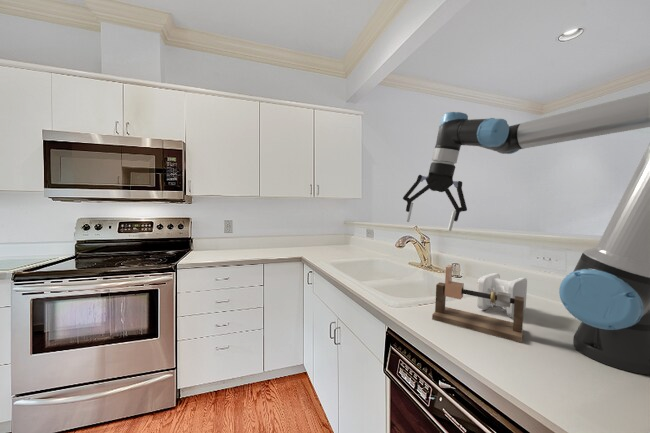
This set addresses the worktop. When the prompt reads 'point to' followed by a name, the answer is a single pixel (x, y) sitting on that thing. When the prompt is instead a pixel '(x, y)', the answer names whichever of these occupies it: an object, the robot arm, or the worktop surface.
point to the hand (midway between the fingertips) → (428, 225)
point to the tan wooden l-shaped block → (452, 285)
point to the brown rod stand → (479, 321)
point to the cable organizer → (498, 285)
